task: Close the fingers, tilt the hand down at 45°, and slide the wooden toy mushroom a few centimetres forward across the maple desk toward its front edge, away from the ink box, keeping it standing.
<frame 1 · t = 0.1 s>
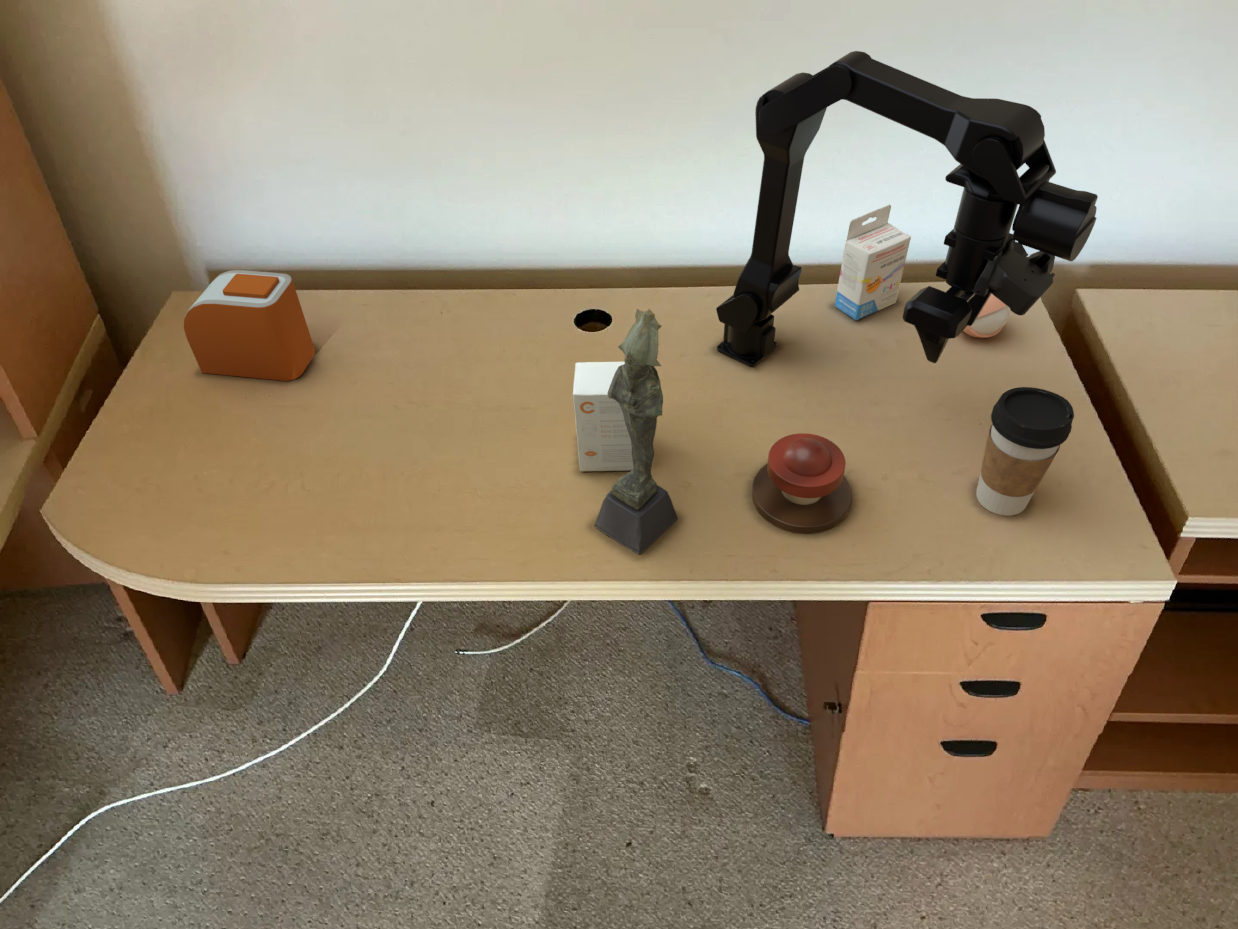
hand: (950, 342, 112), 15 cm above the table, tool pointing down, fingers open, 9 cm apart
ink box: (865, 305, 143), on the table
statue: (636, 523, 113), on the table
small box: (611, 455, 121), on the table
alarm clock: (262, 360, 138), on the table
coffee cup: (1000, 499, 114), on the table
toy mushroom: (800, 496, 115), on the table
toy ball: (975, 332, 138), on the table
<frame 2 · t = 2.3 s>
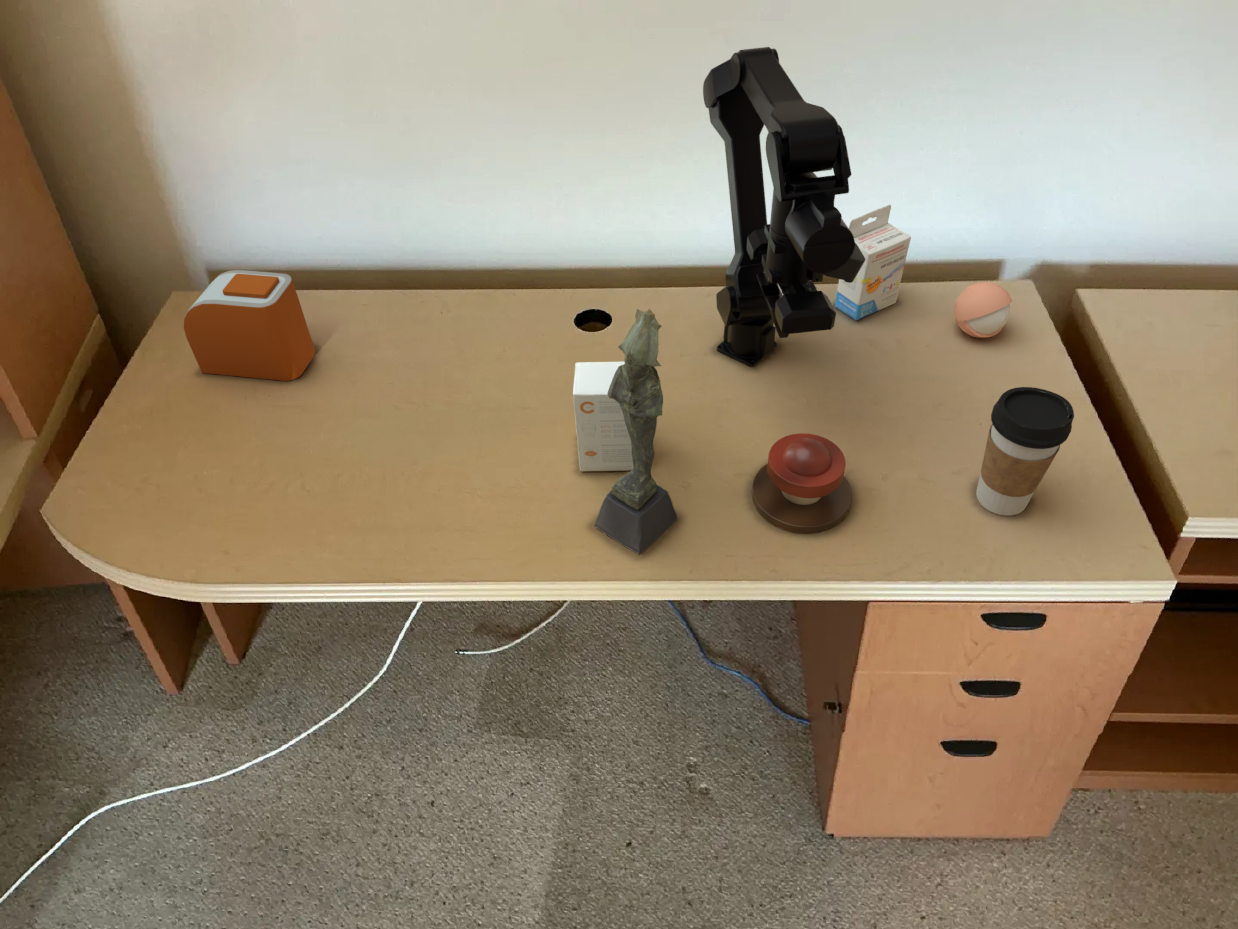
hand: (782, 334, 119), 12 cm above the table, tool pointing down, fingers closed
nothing on the table moved.
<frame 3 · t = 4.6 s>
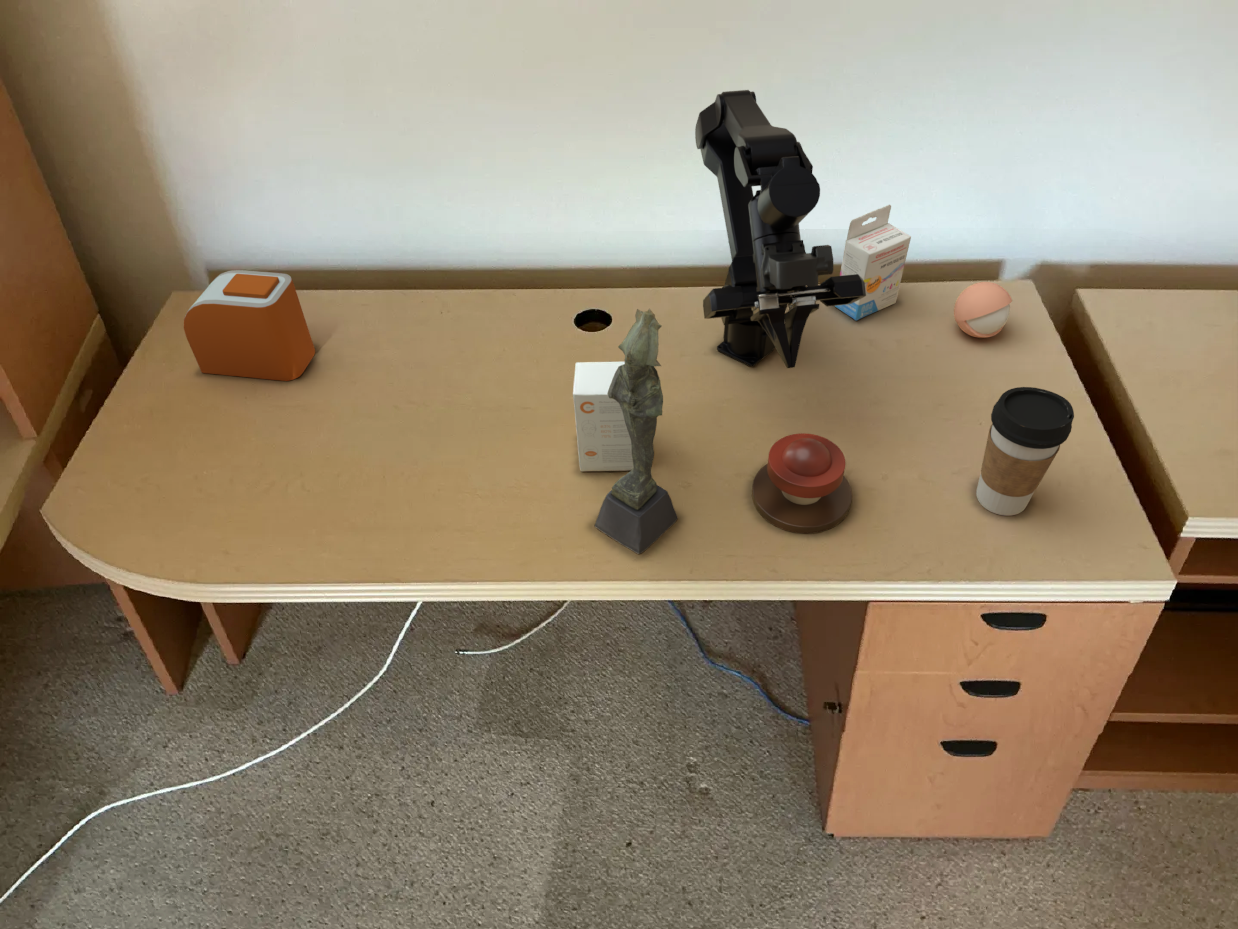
hand: (790, 367, 113), 13 cm above the table, tool tilted 45°, fingers closed
nothing on the table moved.
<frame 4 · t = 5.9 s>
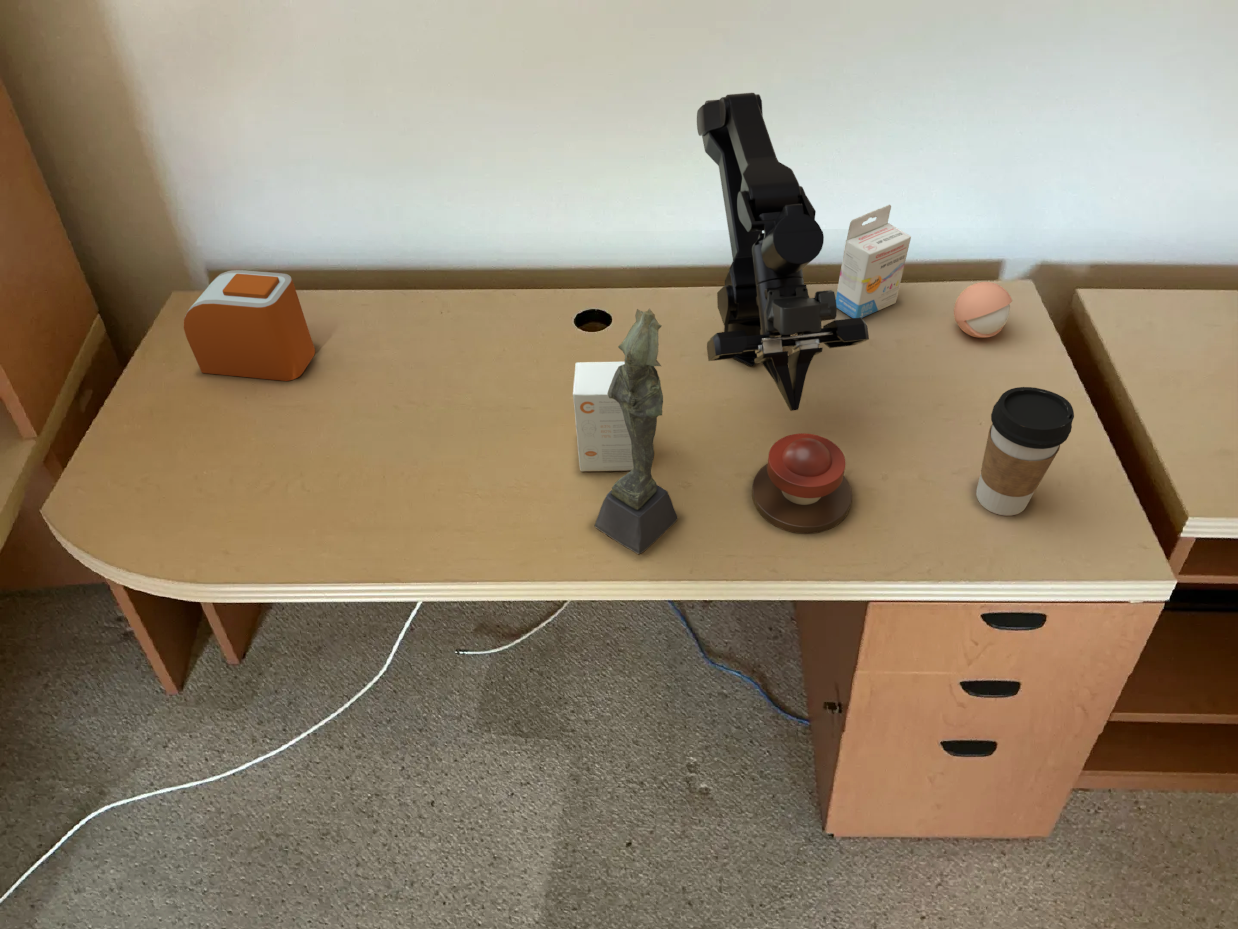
hand: (794, 410, 114), 8 cm above the table, tool tilted 45°, fingers closed
nothing on the table moved.
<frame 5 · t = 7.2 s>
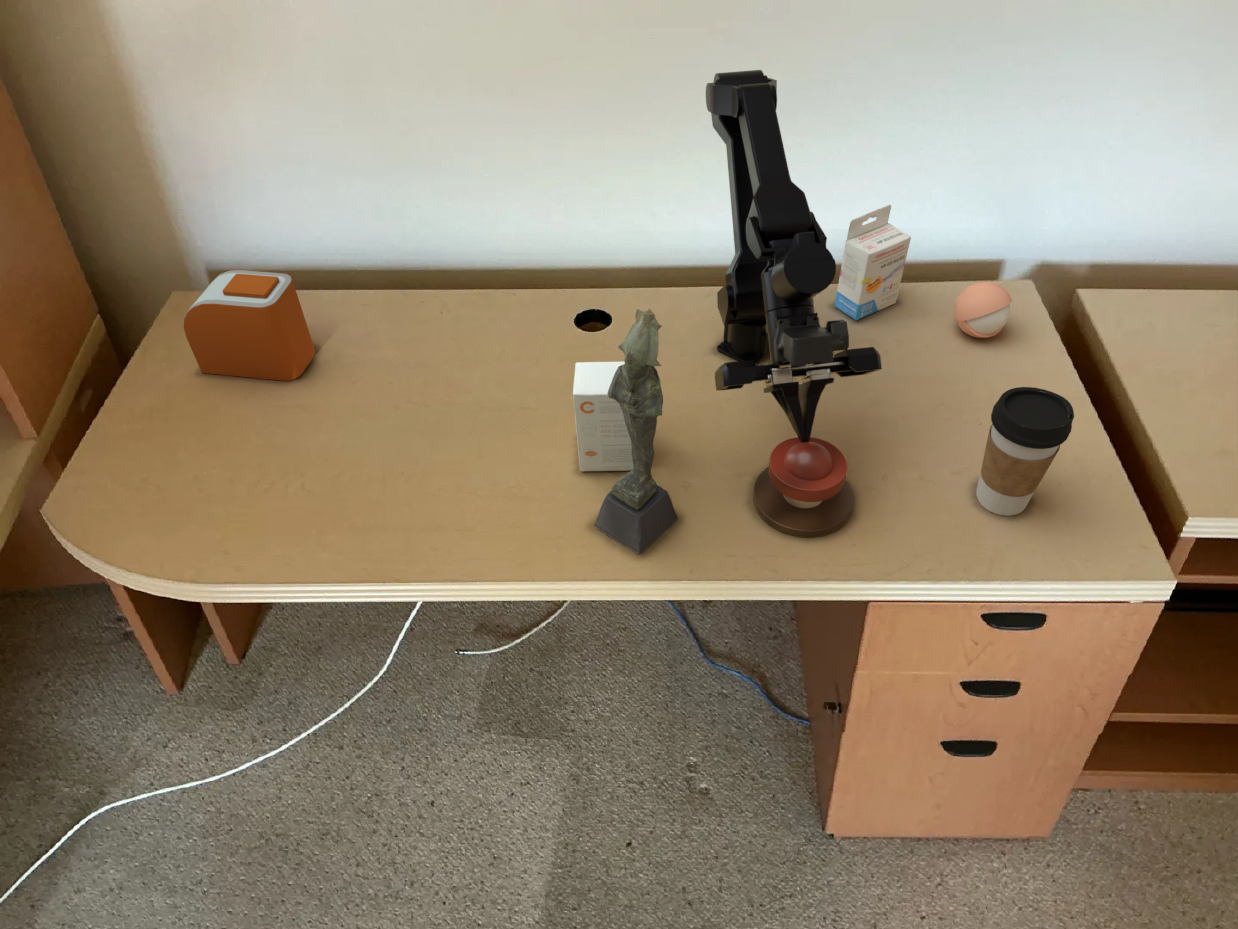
hand: (804, 441, 111), 8 cm above the table, tool tilted 45°, fingers closed, pressing on toy mushroom
toy mushroom: (802, 500, 115), on the table, touching gripper
everything else where it was.
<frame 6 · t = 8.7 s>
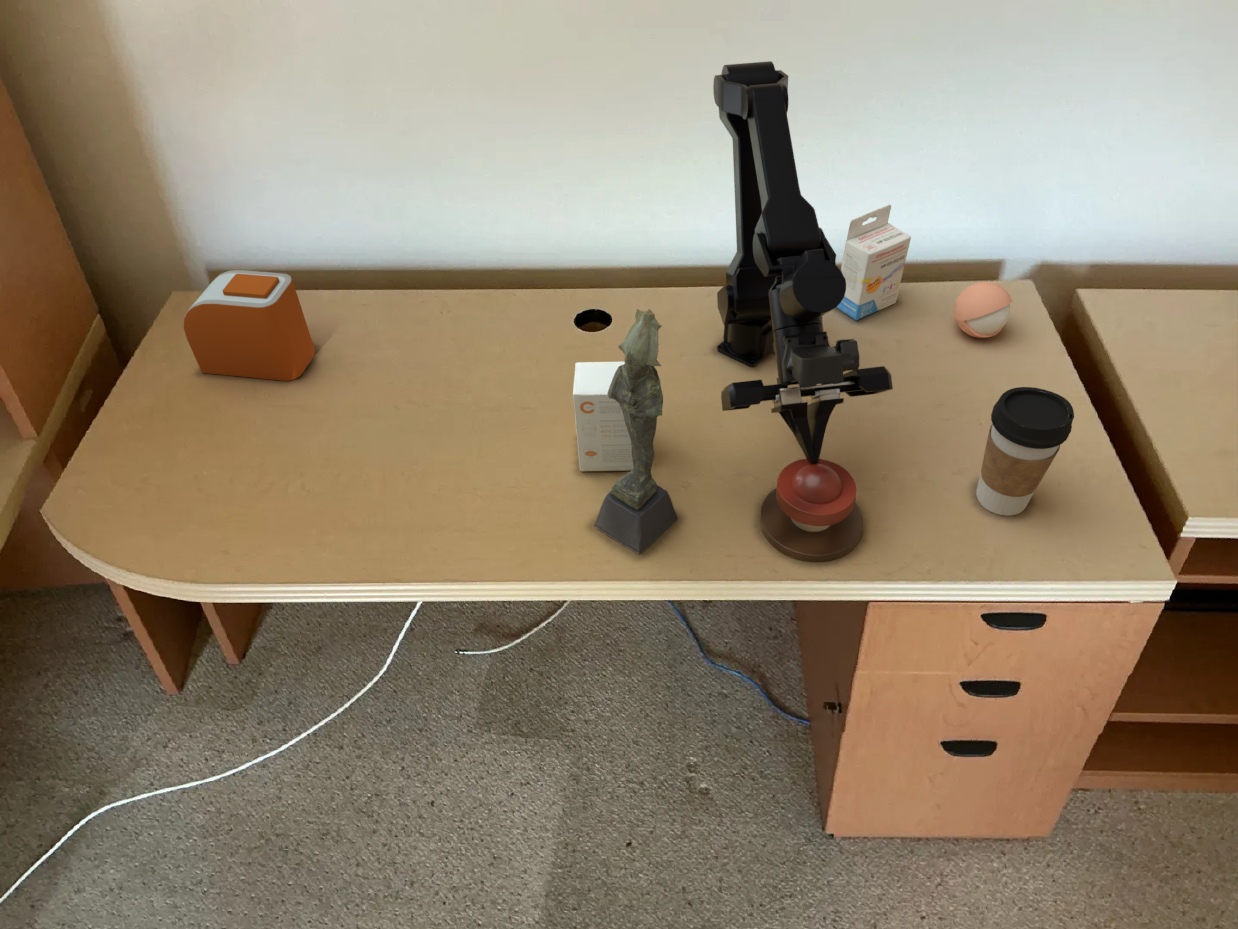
hand: (813, 463, 108), 8 cm above the table, tool tilted 45°, fingers closed
toy mushroom: (810, 523, 112), on the table
everything else where it was.
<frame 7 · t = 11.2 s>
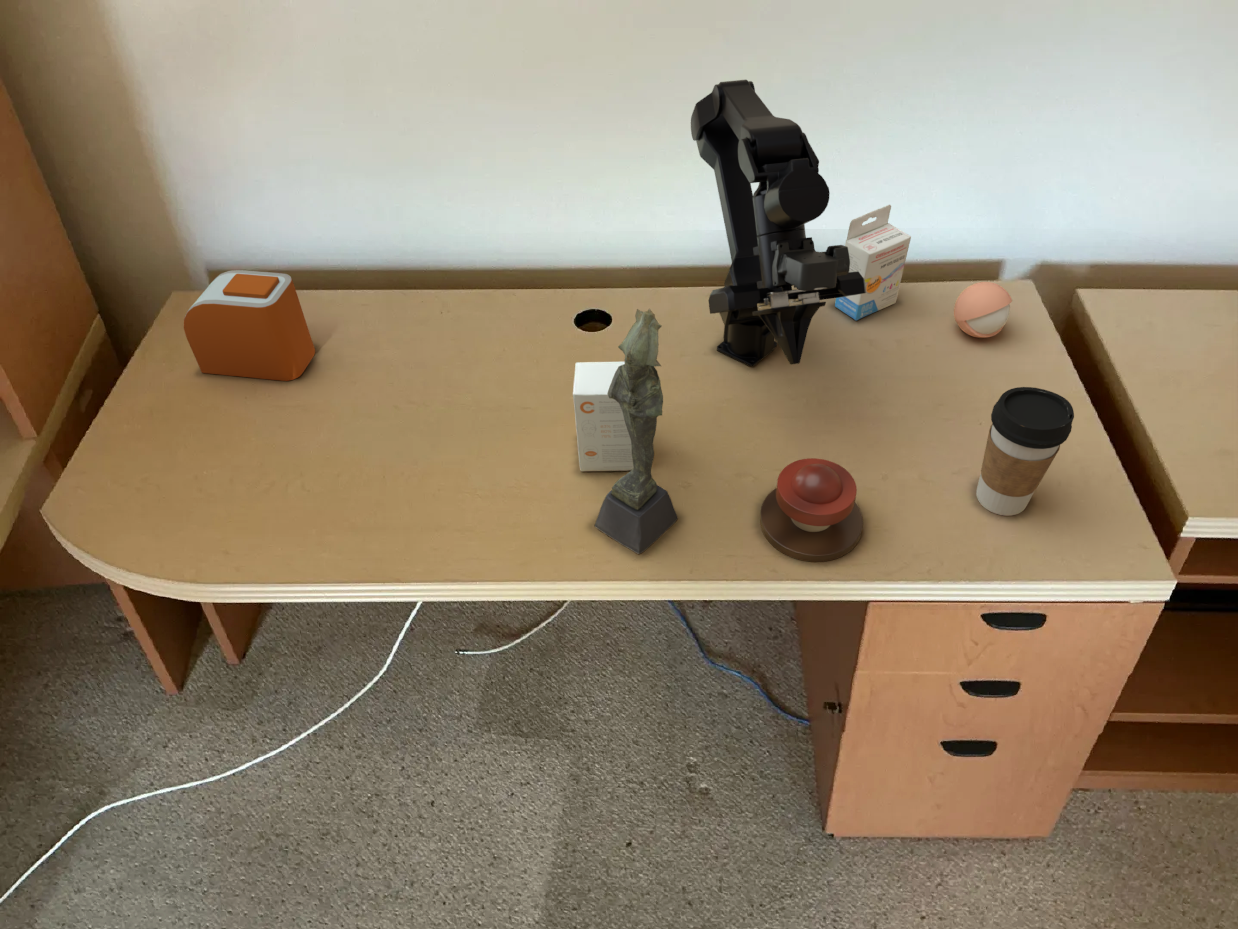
hand: (795, 364, 114), 12 cm above the table, tool tilted 40°, fingers closed
nothing on the table moved.
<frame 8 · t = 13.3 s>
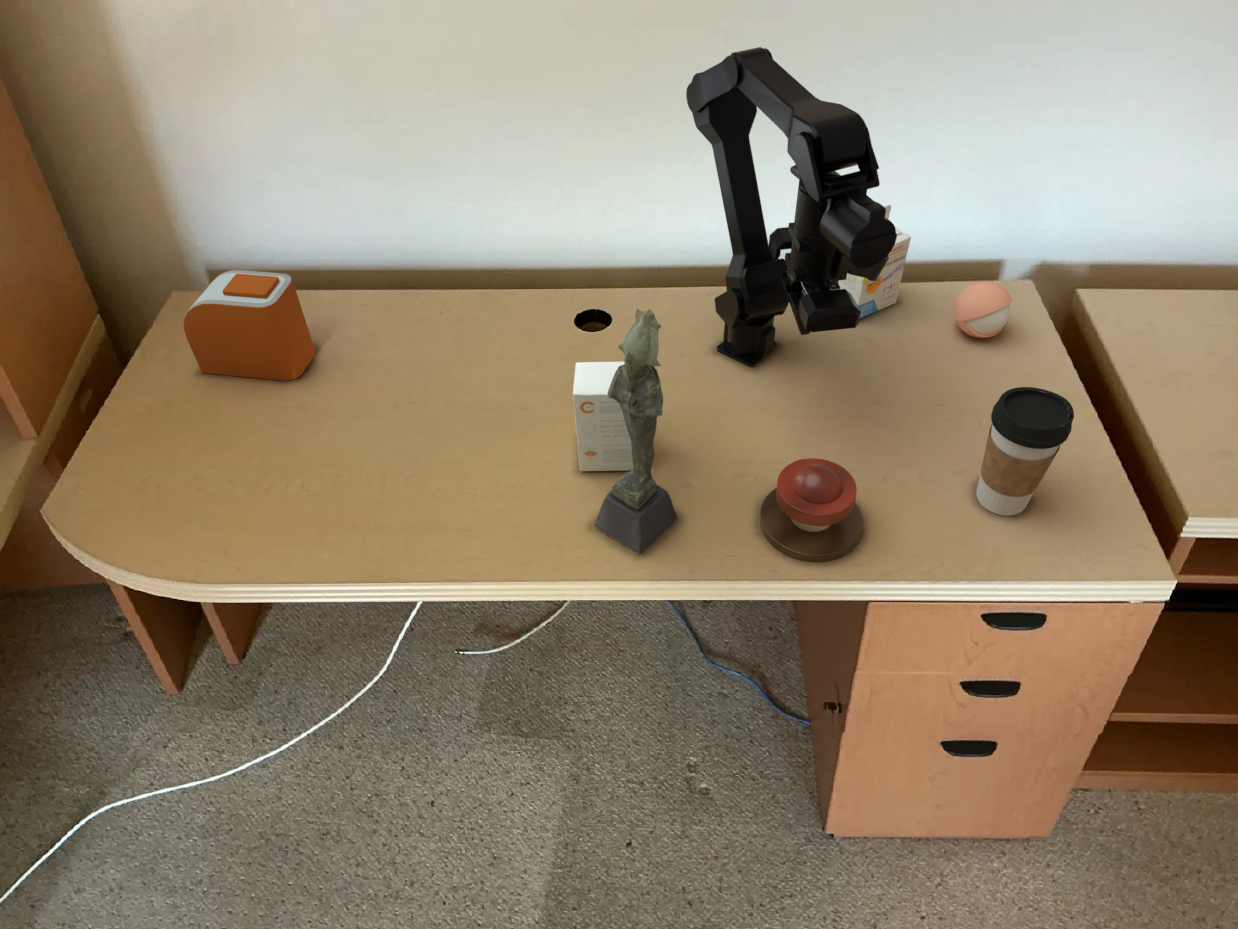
hand: (804, 332, 119), 12 cm above the table, tool pointing down, fingers closed
nothing on the table moved.
at the end: toy mushroom moved 4.4 cm from its start; toy mushroom 2.1 cm from the target spot on the table beside the ink box, on the table; toy mushroom tilted 0° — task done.
